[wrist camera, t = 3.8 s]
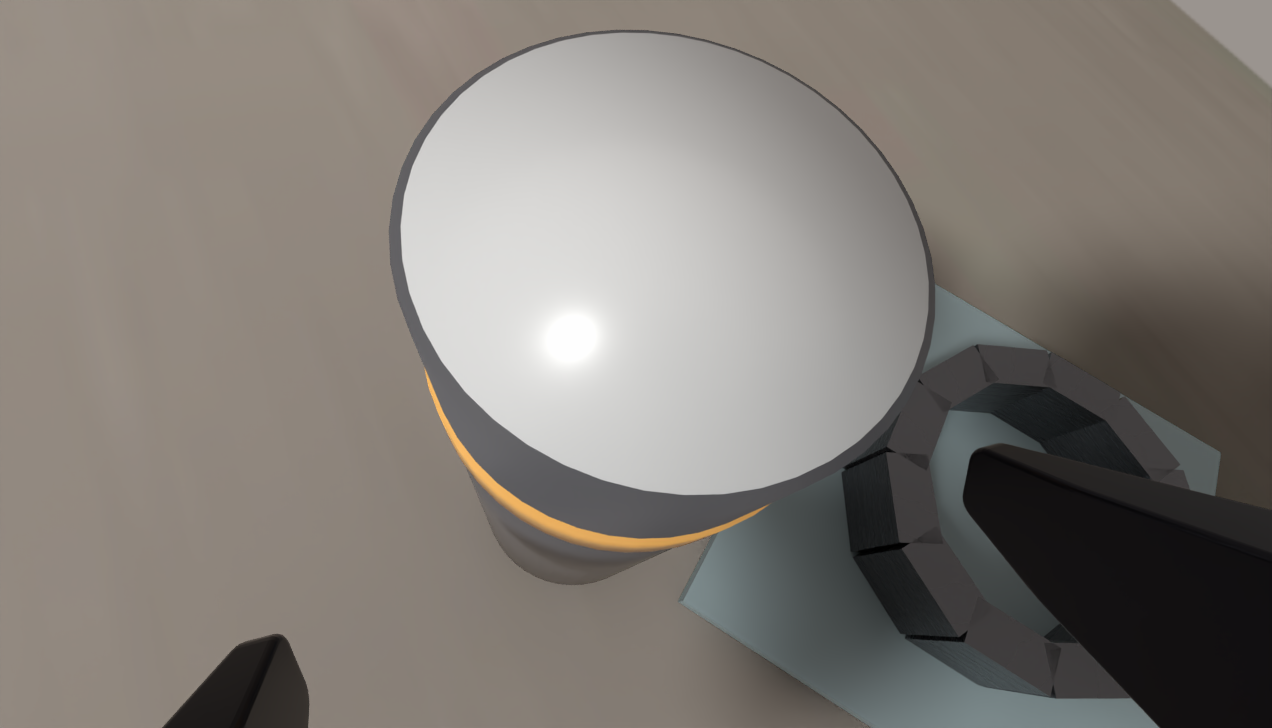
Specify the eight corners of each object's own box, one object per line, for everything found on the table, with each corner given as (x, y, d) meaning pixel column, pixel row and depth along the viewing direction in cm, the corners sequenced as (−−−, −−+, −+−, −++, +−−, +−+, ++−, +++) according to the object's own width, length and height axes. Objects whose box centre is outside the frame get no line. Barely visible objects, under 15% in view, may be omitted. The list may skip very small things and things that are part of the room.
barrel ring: (1091, 757, 16) (1182, 780, 14) (796, 569, 17) (838, 563, 15) (1146, 473, 20) (1226, 455, 18) (903, 327, 21) (950, 292, 18)
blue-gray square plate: (1135, 899, 16) (1157, 910, 15) (677, 601, 17) (682, 601, 16) (1203, 456, 21) (1221, 452, 21) (859, 252, 22) (867, 243, 22)
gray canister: (603, 624, 16) (816, 655, 4) (445, 520, 16) (235, 279, 5) (693, 466, 18) (1004, 188, 6) (551, 376, 19) (594, -48, 7)
